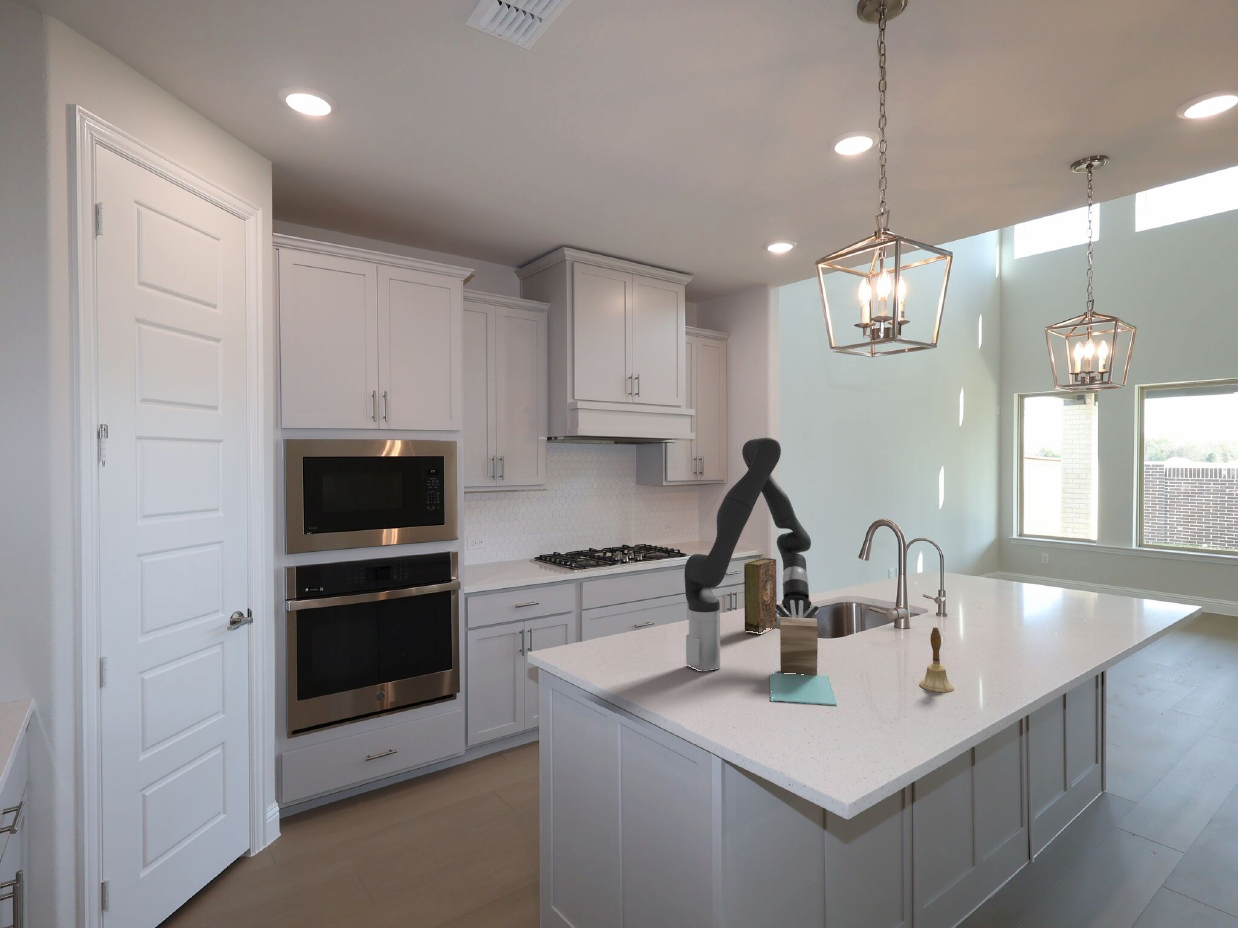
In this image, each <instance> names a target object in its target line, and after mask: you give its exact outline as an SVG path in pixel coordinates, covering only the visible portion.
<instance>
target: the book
mask: <svg viewBox="0 0 1238 928" xmlns="http://www.w3.org/2000/svg"><path fill="white" fill-rule="evenodd" d="M743 573H744V578H743V581H744V583H743V586H744V589H743V591H744V593H743V594H744V595H743V596H744V632H745V631H753V632H758V633H761V632H763V631H764V630H766V628H770V629H771V628H772V630H774V629H776V628H778V621H777V620H778V618H777V617H778V614H777V612H776V611H775V606H776V605H777V602H778V601H777V595H778V594H777V593H778V592H777V559H776V558H770V557H769V558H767V557H766V558H765V557H763V558H759V559H756V560H751V561H748V562H744V566H743Z"/></svg>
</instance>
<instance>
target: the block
mask: <svg viewBox="0 0 1238 928" xmlns="http://www.w3.org/2000/svg"><path fill="white" fill-rule="evenodd" d="M790 617H791V616H790ZM790 617H780V616H779V626H780V627H779V635H780V636H779V637H780V638H779V641H780V642H779V645H780V646H779V647H780V649H779V652H780V656H779V658H780V661H779V662H780V663H779V664H780V666H779V667H780V673H796V674H804V675H818V651H819V649H818V640H819V639H818V636H819V634H818V633H819V632H818V631H819V625H818V619H817V618H815V617H814V618H805V617H803V618H798V617H796V618H790Z"/></svg>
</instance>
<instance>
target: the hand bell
mask: <svg viewBox="0 0 1238 928" xmlns="http://www.w3.org/2000/svg"><path fill="white" fill-rule="evenodd" d="M941 645H942V637H941V632H940V630H939V628H938V627H936V626H935V627H932V631H931V633H930V646H931V649H932V664H928V665H927V667H926V672H925V676H924V678H923V680H921V681H920V682H919V687H920V688H922V689H924V690H926V691H930V692H934V693H951V692H953V691H954V689H955V688H954V686H953V685H952V684H951V683H950V681H949V679H948V676H947V669H946V667H945V666H943V665H941V659H940V650H941ZM950 691H951V692H950Z"/></svg>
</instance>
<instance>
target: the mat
mask: <svg viewBox="0 0 1238 928" xmlns="http://www.w3.org/2000/svg"><path fill="white" fill-rule="evenodd" d="M771 673H772V674H770V673H769V690H770V691H769V693H770V694H769V695H770V696H769V697H771V698H770V700H773V701H772V702H774V701H786V702H785V703H788V702H800V703H799V704H803V703H806V704H805V705H807V704H808V705H818V704H822V706H836V707H837V706H838V705H837V701H836V700H837V699H836V697H835V693H834V691H833V687H832V683H831V681H830V676H829V675H819V674H817V675H801V674H784V673H781V672H771ZM773 673H774V674H773ZM771 691H772V692H771ZM772 697H774V698H772Z"/></svg>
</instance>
